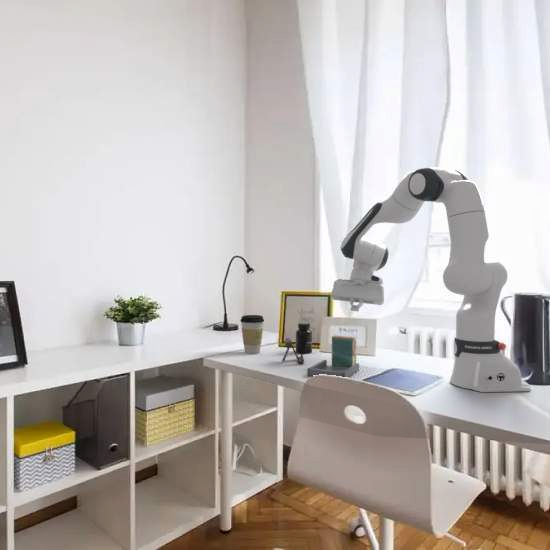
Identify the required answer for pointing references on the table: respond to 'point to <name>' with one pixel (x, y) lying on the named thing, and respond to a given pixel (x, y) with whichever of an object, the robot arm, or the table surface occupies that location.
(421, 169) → the robot arm
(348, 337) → the green tan block
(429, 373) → the table surface
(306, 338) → the supplement bottle
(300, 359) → the portable electronic device stand
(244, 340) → the coffee cup
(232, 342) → the table surface
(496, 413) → the table surface
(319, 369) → the tray
